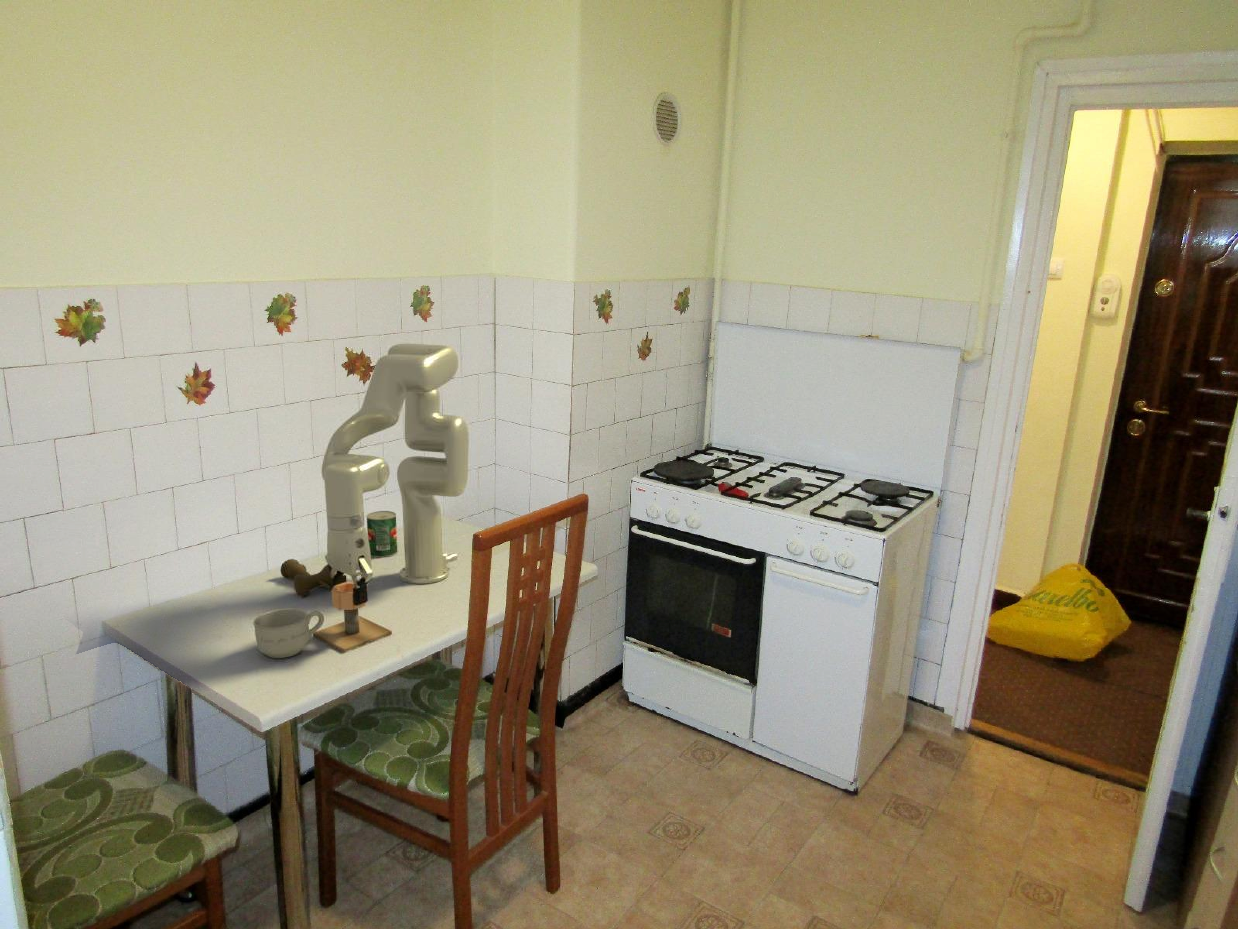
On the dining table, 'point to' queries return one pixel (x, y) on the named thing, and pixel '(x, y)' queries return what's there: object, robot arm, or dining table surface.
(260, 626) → the teacup
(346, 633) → the post plate
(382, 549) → the canned tomato
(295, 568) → the kendama
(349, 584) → the ring
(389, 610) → the dining table surface
